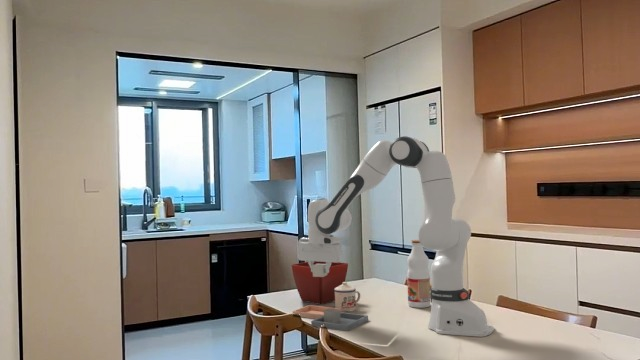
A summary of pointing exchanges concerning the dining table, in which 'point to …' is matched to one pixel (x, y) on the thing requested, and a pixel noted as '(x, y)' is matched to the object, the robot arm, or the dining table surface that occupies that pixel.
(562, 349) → the dining table surface
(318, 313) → the tray
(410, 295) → the fruit juice
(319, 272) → the stone
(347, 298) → the teacup with lid
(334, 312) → the stone
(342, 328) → the tray
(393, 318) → the dining table surface
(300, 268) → the plant pot
